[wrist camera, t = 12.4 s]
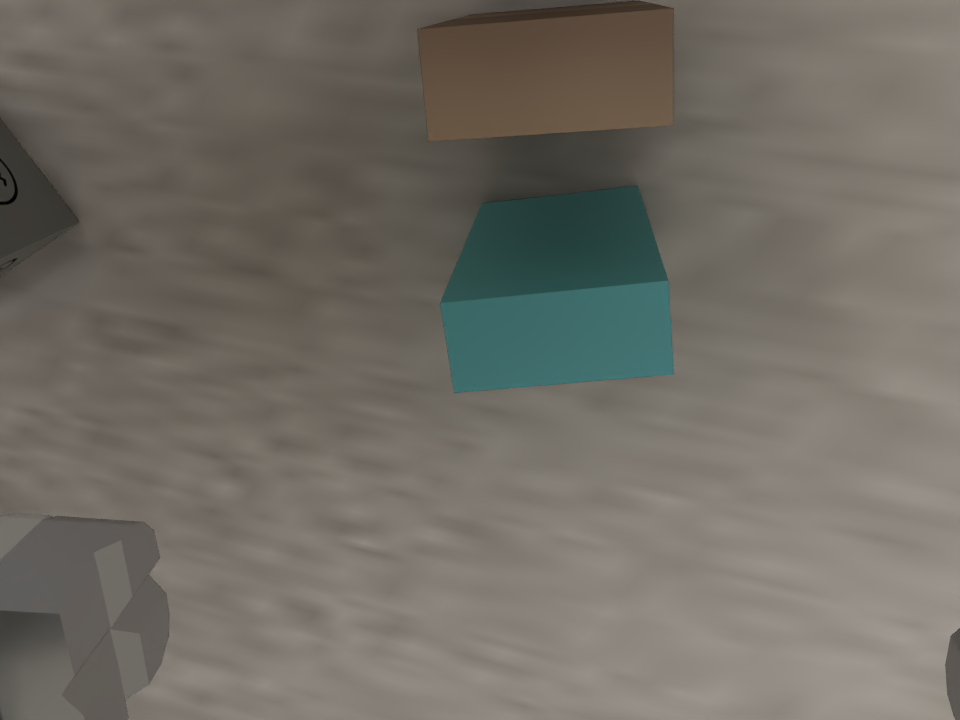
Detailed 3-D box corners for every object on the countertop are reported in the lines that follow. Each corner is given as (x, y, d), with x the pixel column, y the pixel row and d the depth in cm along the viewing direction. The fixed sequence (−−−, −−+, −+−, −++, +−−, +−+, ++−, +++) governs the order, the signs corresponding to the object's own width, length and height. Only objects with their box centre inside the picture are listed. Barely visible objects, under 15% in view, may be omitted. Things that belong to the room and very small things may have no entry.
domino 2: (642, 252, 29) (673, 374, 20) (490, 268, 30) (454, 392, 21) (637, 186, 29) (668, 280, 19) (481, 203, 29) (439, 302, 20)
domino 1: (640, 78, 27) (673, 125, 18) (476, 90, 28) (428, 141, 19) (639, 0, 26) (673, 8, 17) (470, 14, 27) (417, 29, 18)
